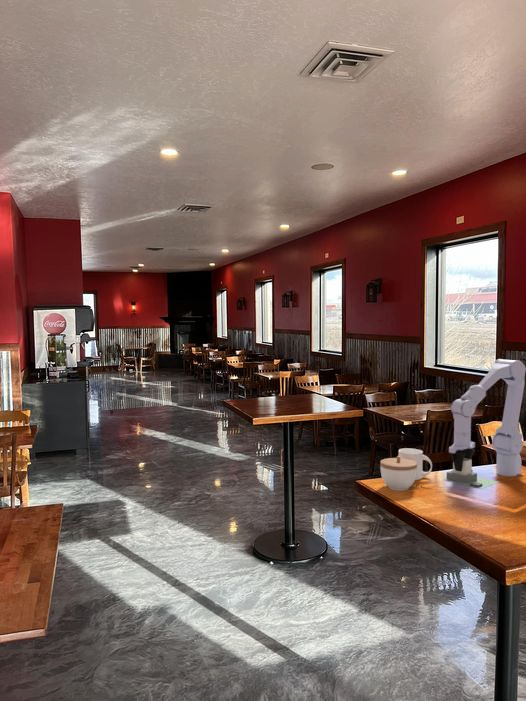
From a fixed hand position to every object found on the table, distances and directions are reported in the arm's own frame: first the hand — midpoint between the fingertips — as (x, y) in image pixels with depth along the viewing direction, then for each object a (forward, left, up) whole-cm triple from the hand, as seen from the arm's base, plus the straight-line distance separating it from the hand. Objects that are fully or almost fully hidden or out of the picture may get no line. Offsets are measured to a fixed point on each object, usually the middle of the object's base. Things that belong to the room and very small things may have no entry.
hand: (461, 469), depth 202 cm
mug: (+10, -13, -5) cm, 17 cm away
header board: (-1, +3, -5) cm, 6 cm away
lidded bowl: (+23, -11, -5) cm, 26 cm away
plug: (-2, 0, -2) cm, 3 cm away
